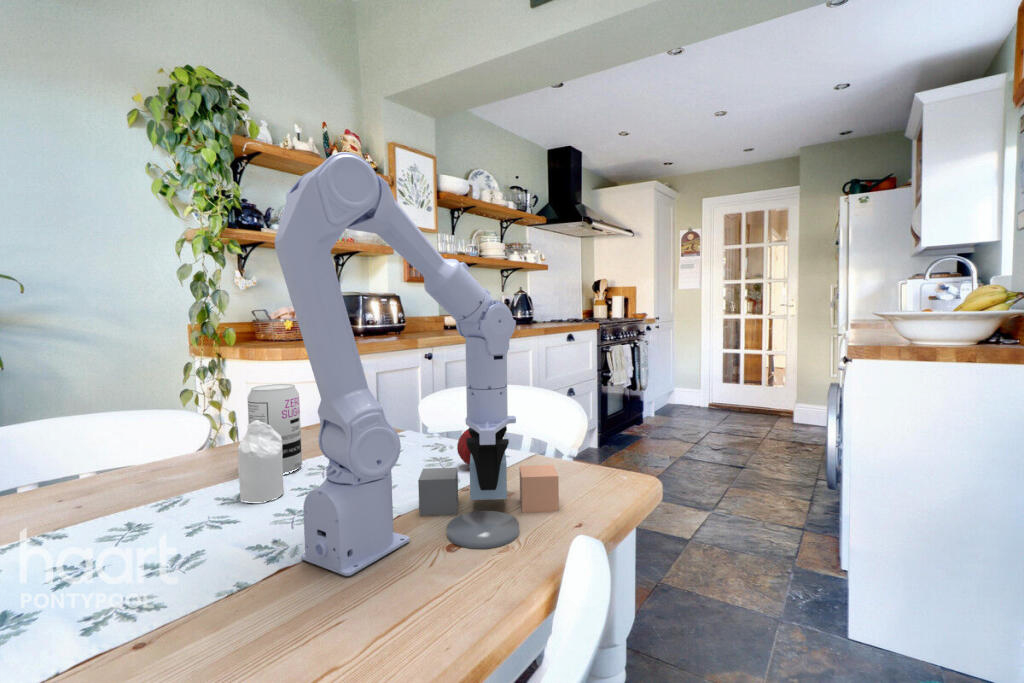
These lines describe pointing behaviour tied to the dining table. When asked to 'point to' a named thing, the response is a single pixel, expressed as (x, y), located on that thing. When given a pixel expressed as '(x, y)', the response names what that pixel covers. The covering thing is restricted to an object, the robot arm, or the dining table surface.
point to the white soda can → (279, 418)
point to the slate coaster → (483, 529)
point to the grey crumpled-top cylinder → (260, 463)
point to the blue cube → (488, 494)
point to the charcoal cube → (438, 491)
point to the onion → (464, 447)
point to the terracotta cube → (539, 488)
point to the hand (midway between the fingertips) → (488, 482)
